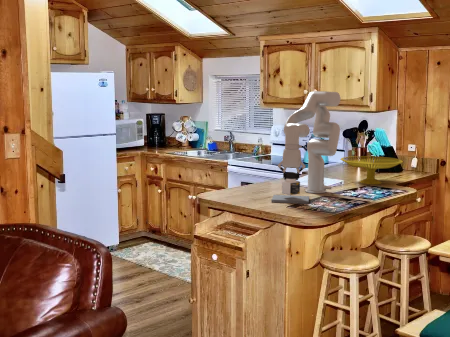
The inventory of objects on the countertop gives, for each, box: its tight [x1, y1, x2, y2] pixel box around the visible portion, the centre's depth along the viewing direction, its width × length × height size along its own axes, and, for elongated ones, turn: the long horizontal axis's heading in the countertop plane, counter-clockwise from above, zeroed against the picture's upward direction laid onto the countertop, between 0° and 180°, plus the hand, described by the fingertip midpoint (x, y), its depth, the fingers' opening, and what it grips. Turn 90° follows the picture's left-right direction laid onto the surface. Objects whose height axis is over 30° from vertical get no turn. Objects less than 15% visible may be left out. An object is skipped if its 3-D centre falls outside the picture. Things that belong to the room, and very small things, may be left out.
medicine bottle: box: [281, 171, 301, 196], centre depth 329 cm, size 7×7×12 cm
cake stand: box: [340, 155, 404, 185], centre depth 390 cm, size 40×40×15 cm
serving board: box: [270, 194, 310, 205], centre depth 330 cm, size 20×14×2 cm
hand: (291, 179), depth 328 cm, fingers closed on medicine bottle, 6 cm apart
